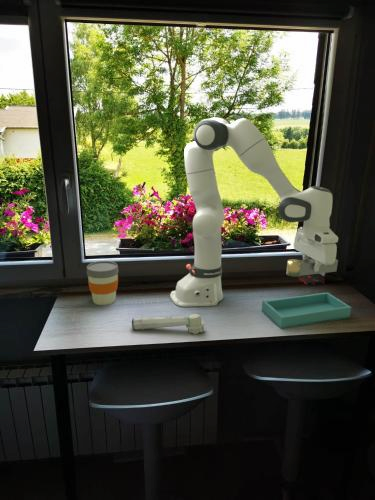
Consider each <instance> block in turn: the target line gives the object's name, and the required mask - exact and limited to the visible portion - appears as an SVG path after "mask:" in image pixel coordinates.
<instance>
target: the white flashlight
mask: <svg viewBox="0 0 375 500" xmlns="http://www.w3.org/2000/svg"><path fill="white" fill-rule="evenodd" d="M182 326H185V327H186V328H187V332H188V333H191V334H193V335H196V334H197V335H198V334H199V333H203V332H204V331H205V330H204V329H205V327H204V326H205V321H203V320H202V318H201V315H200V314H198V313H191V314H190V315H188V316H160V317H159V316H158V317H156V316H155V317H153V316H152V317H144V316H141V317H135V318H134V317H133V318H132V319H131V328H132V330H134V331H135V330H142V331H145V330H147V329H148V330H149V329H160V328H171V327H172V328H173V327H182Z"/></svg>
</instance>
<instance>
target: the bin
mask: <svg viewBox="0 0 375 500" xmlns="http://www.w3.org/2000/svg"><path fill="white" fill-rule="evenodd" d="M261 312H262V313H263V314H264V316H266V317H267V318H268V319H269V320H270V321H271V322H272V323H273V324H275V325H276V327H278V328H279V329H280V330H283V329H289V328H294V327H302V326H307V325H312V324H319V323H320V324H321V323H325V322H326V323H327V322H332V321H333V322H334V321H337V320H345V319H349V318H350V317H351V313H352V306H351V305H348V304H347V303H345V302H343V300H341V299H339V298H337V297H336V296H334V295H332V293H330V292H328V291H327V292H321V293H320V292H319V293H312V294H307V295H298V296H290V297H289V296H288V297H283V298H276V299H275V298H274V299H267V300H263V301H262V304H261Z"/></svg>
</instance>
